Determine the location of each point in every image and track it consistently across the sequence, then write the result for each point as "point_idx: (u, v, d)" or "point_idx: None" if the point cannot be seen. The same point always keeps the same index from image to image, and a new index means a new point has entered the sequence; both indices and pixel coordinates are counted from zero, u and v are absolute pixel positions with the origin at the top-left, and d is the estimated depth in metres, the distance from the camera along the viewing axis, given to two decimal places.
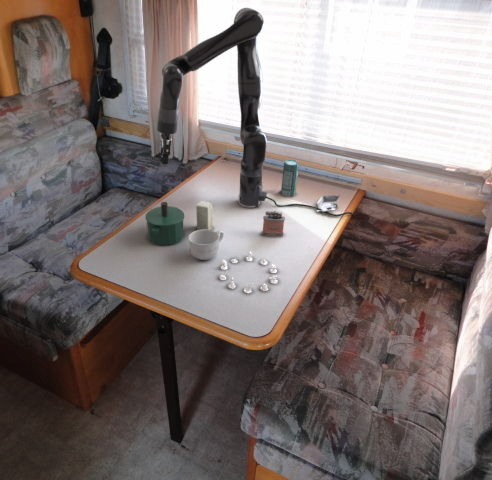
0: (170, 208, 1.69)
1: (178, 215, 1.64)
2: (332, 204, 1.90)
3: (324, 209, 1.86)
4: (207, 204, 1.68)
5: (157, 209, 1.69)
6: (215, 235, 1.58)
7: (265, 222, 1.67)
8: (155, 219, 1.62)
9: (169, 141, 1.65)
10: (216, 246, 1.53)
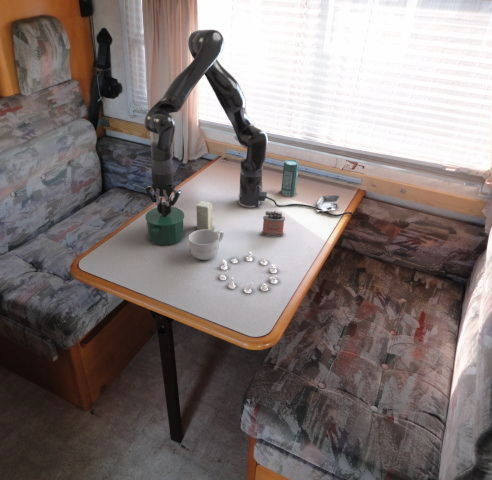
0: None
1: (178, 215, 1.64)
2: (332, 204, 1.90)
3: (324, 209, 1.86)
4: (207, 204, 1.68)
5: None
6: (215, 235, 1.58)
7: (265, 222, 1.67)
8: (155, 219, 1.62)
9: (180, 192, 1.58)
10: (216, 246, 1.53)
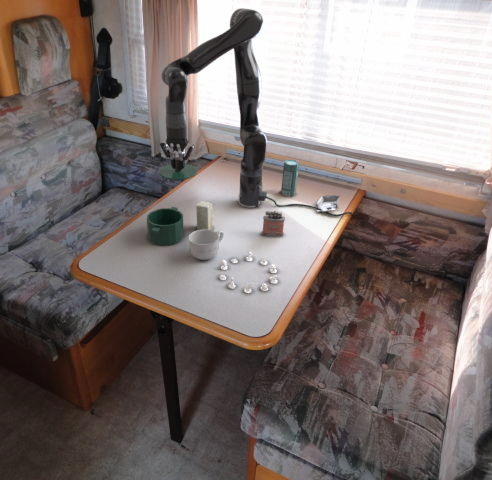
0: None
1: (191, 171, 1.71)
2: (332, 204, 1.90)
3: (324, 209, 1.86)
4: (207, 204, 1.68)
5: (170, 166, 1.75)
6: (215, 235, 1.58)
7: (265, 222, 1.67)
8: (169, 174, 1.68)
9: None
10: (216, 246, 1.53)
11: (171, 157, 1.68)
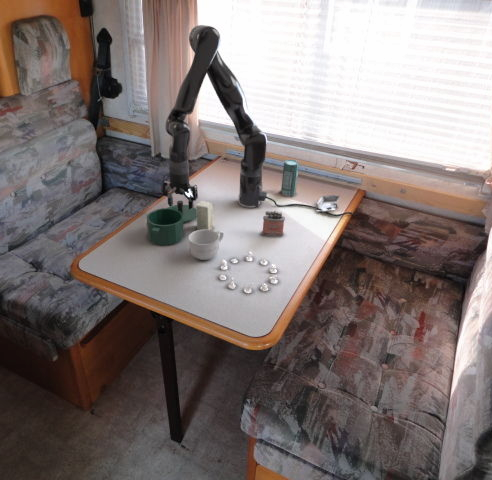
0: (185, 206, 1.87)
1: (192, 213, 1.83)
2: (332, 204, 1.90)
3: (324, 209, 1.86)
4: (207, 204, 1.68)
5: None
6: (215, 235, 1.58)
7: (265, 222, 1.67)
8: None
9: (196, 186, 1.75)
10: (216, 246, 1.53)
11: (168, 196, 1.79)
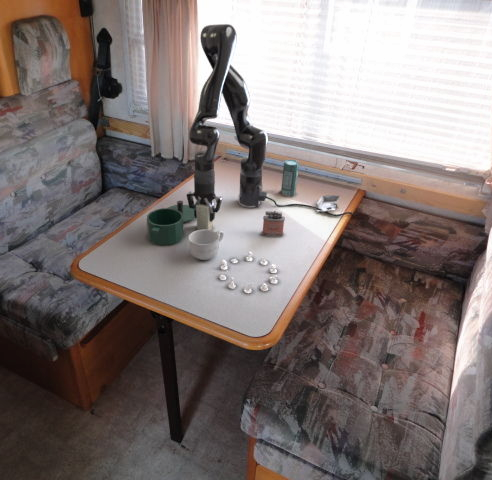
0: (185, 206, 1.87)
1: (192, 213, 1.83)
2: (332, 204, 1.90)
3: (324, 209, 1.86)
4: None
5: None
6: (215, 235, 1.58)
7: (265, 222, 1.67)
8: None
9: (222, 198, 1.65)
10: (216, 246, 1.53)
11: (194, 208, 1.69)
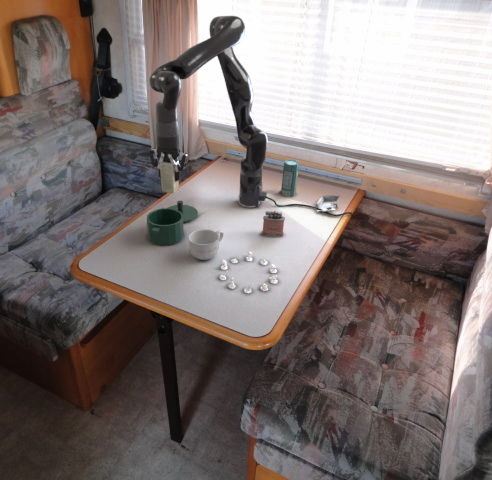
0: (185, 206, 1.87)
1: (192, 213, 1.83)
2: (332, 204, 1.90)
3: (324, 209, 1.86)
4: None
5: None
6: (215, 235, 1.58)
7: (265, 222, 1.67)
8: None
9: (187, 155, 1.51)
10: (216, 246, 1.53)
11: (158, 166, 1.55)
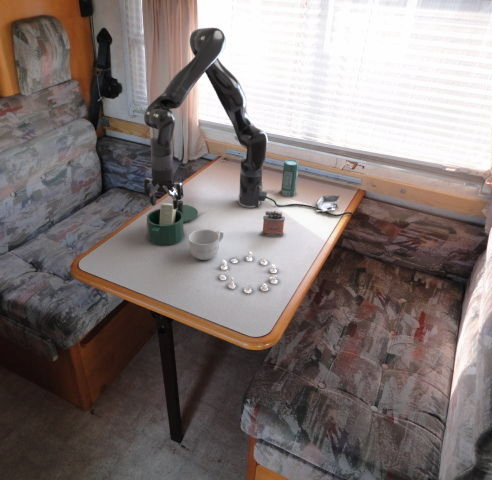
0: (185, 206, 1.87)
1: (192, 213, 1.83)
2: (332, 204, 1.90)
3: (324, 209, 1.86)
4: (171, 204, 1.67)
5: None
6: (215, 235, 1.58)
7: (265, 222, 1.67)
8: None
9: (181, 183, 1.56)
10: (216, 246, 1.53)
11: (150, 194, 1.61)
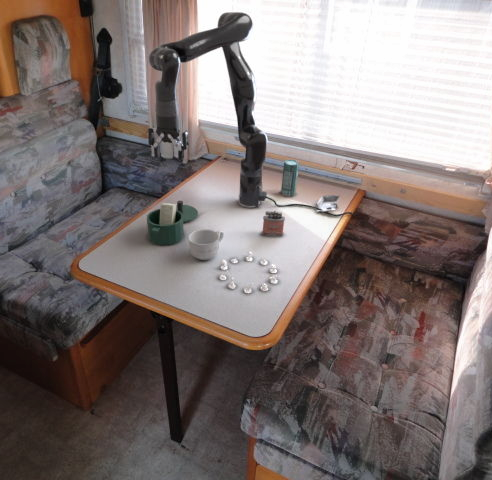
0: (185, 206, 1.87)
1: (192, 213, 1.83)
2: (332, 204, 1.90)
3: (324, 209, 1.86)
4: (171, 204, 1.67)
5: None
6: (215, 235, 1.58)
7: (265, 222, 1.67)
8: None
9: (187, 132, 1.50)
10: (216, 246, 1.53)
11: (154, 145, 1.54)
